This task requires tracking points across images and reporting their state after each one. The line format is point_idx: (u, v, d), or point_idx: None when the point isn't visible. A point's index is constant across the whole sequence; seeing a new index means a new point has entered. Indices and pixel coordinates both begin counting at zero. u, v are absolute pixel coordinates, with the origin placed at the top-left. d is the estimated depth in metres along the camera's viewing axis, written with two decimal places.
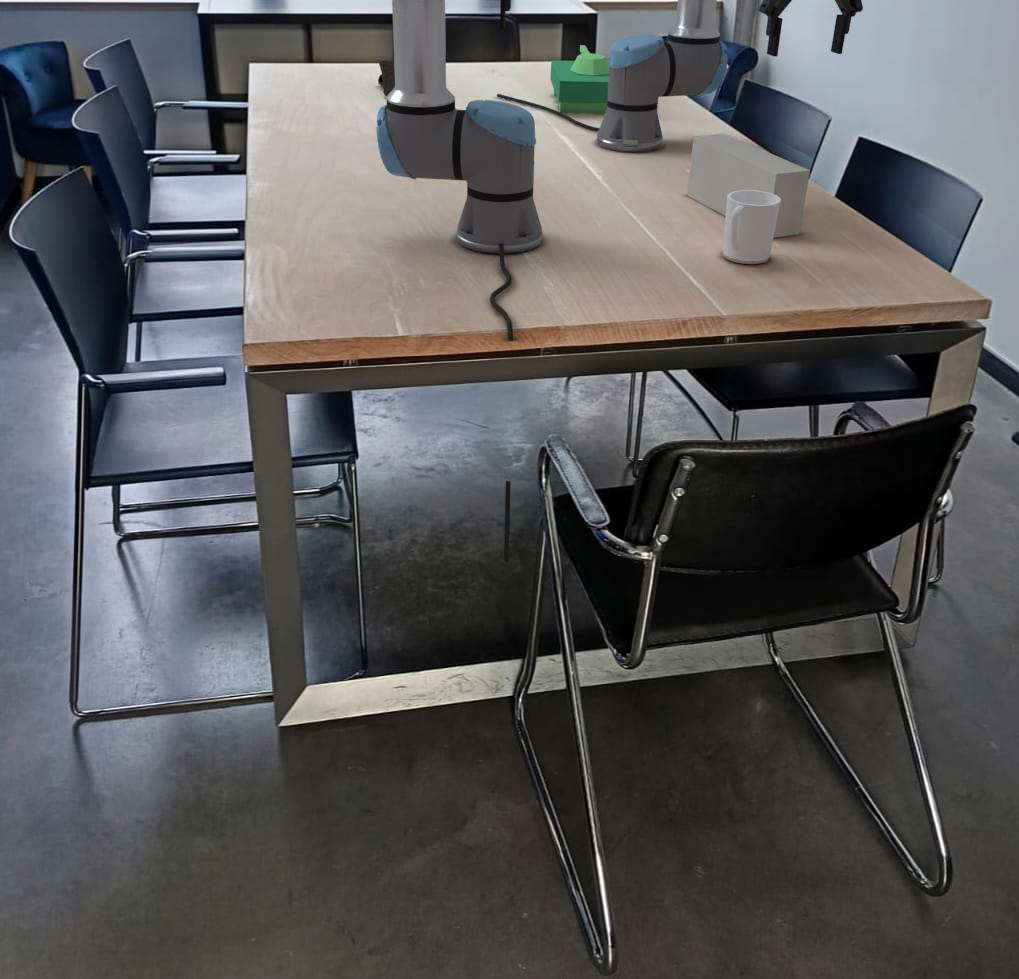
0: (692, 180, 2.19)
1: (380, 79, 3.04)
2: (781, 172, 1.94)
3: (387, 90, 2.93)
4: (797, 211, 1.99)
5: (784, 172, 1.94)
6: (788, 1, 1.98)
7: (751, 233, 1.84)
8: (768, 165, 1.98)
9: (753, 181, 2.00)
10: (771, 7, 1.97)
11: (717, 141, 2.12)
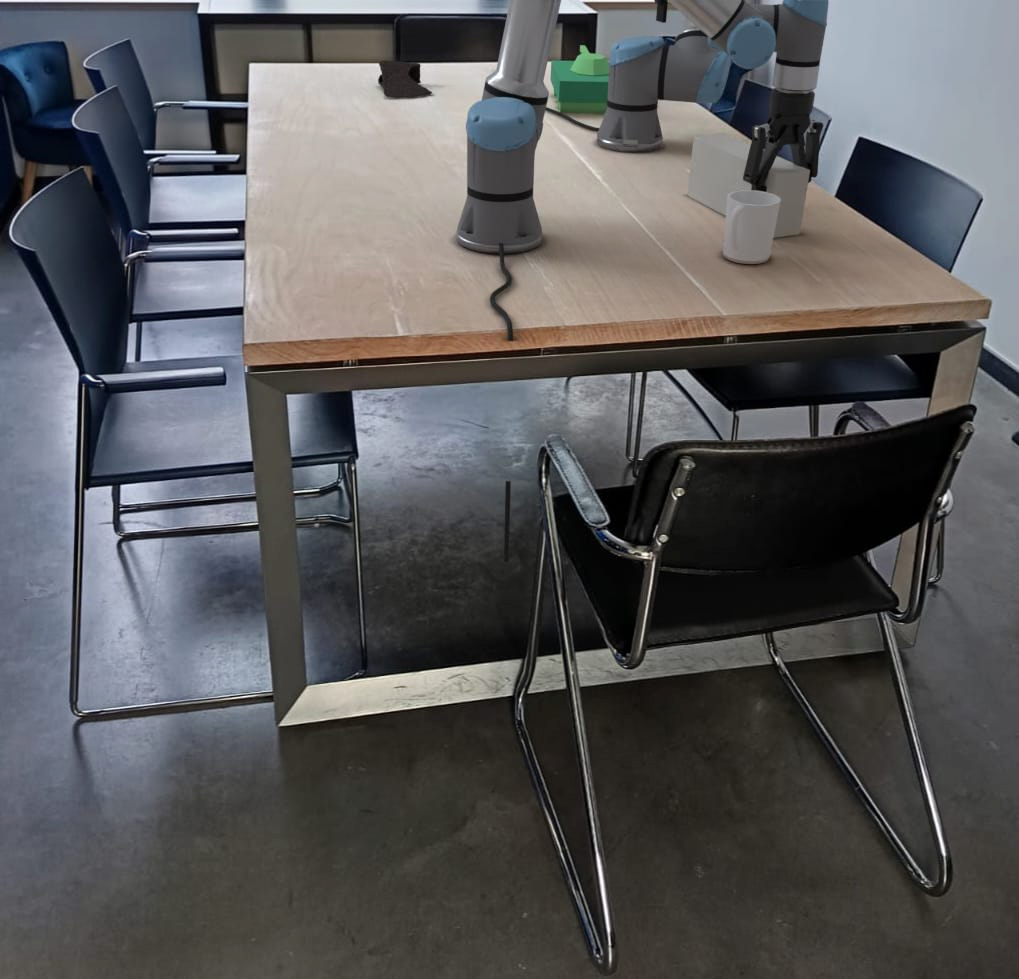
0: (692, 180, 2.19)
1: (380, 79, 3.04)
2: (781, 172, 1.94)
3: (387, 90, 2.93)
4: (797, 211, 1.99)
5: (784, 172, 1.94)
6: None
7: (751, 233, 1.84)
8: None
9: None
10: None
11: (717, 141, 2.12)
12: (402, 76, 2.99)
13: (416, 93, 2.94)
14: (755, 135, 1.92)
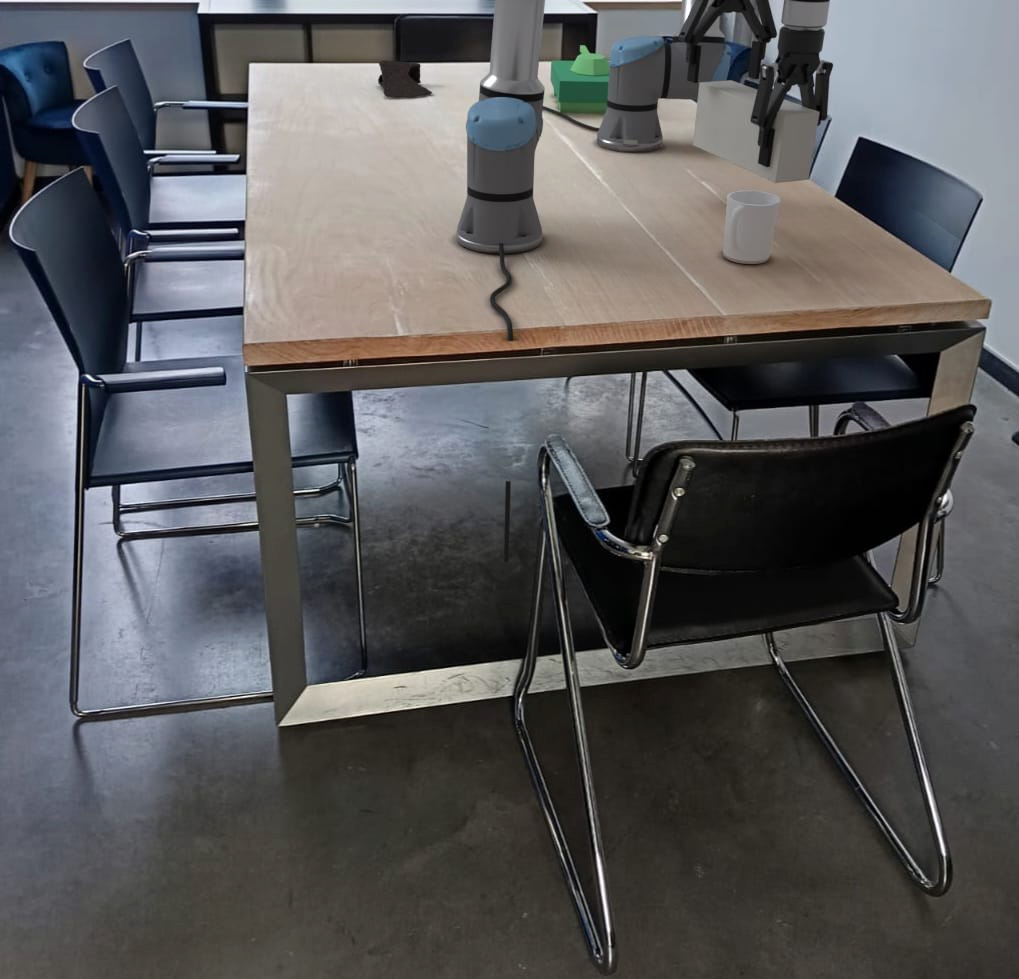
0: (698, 128, 2.14)
1: (380, 79, 3.04)
2: (790, 113, 1.89)
3: (387, 90, 2.93)
4: (806, 155, 1.94)
5: (793, 113, 1.89)
6: None
7: (751, 233, 1.84)
8: None
9: None
10: (765, 30, 2.09)
11: (723, 86, 2.07)
12: (402, 76, 2.99)
13: (416, 93, 2.94)
14: (763, 74, 1.87)
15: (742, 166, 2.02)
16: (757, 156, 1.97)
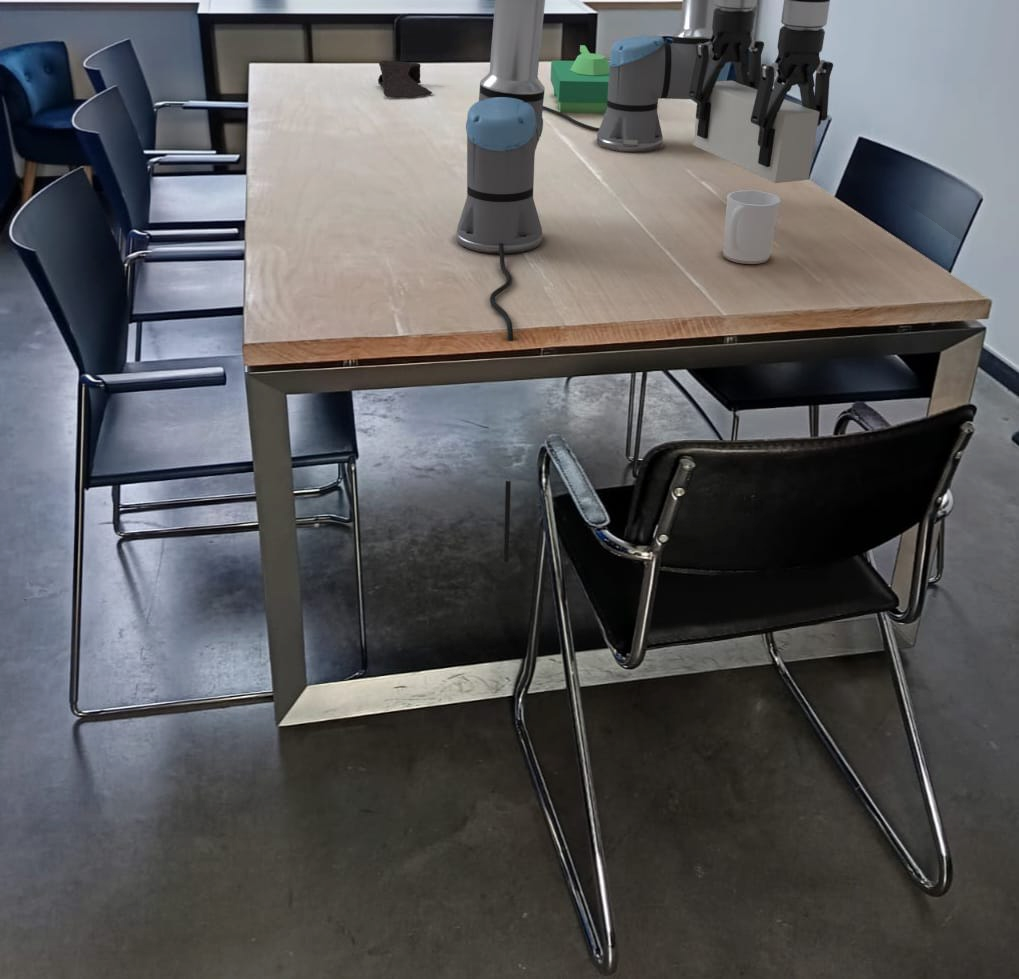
0: None
1: (380, 79, 3.04)
2: (790, 113, 1.89)
3: (387, 90, 2.93)
4: (806, 155, 1.94)
5: (793, 113, 1.89)
6: None
7: (751, 233, 1.84)
8: None
9: None
10: None
11: (724, 87, 2.07)
12: (402, 76, 2.99)
13: (416, 93, 2.94)
14: (763, 74, 1.87)
15: (742, 166, 2.02)
16: (758, 156, 1.97)
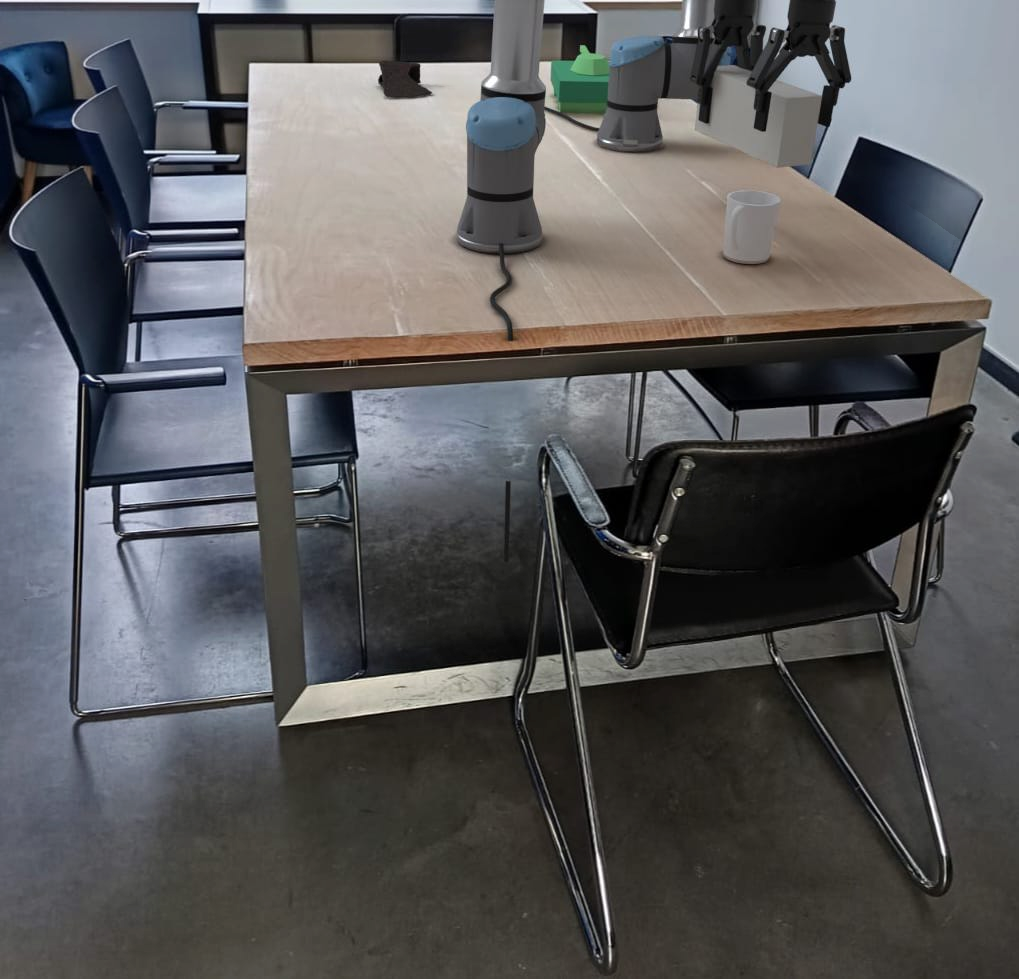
0: None
1: (380, 79, 3.04)
2: (792, 97, 1.88)
3: (387, 90, 2.93)
4: (808, 140, 1.93)
5: (795, 97, 1.88)
6: None
7: (751, 233, 1.84)
8: (779, 91, 1.92)
9: None
10: (751, 70, 2.11)
11: (725, 71, 2.06)
12: (402, 76, 2.99)
13: (416, 93, 2.94)
14: (772, 37, 1.82)
15: (744, 151, 2.01)
16: (760, 140, 1.96)
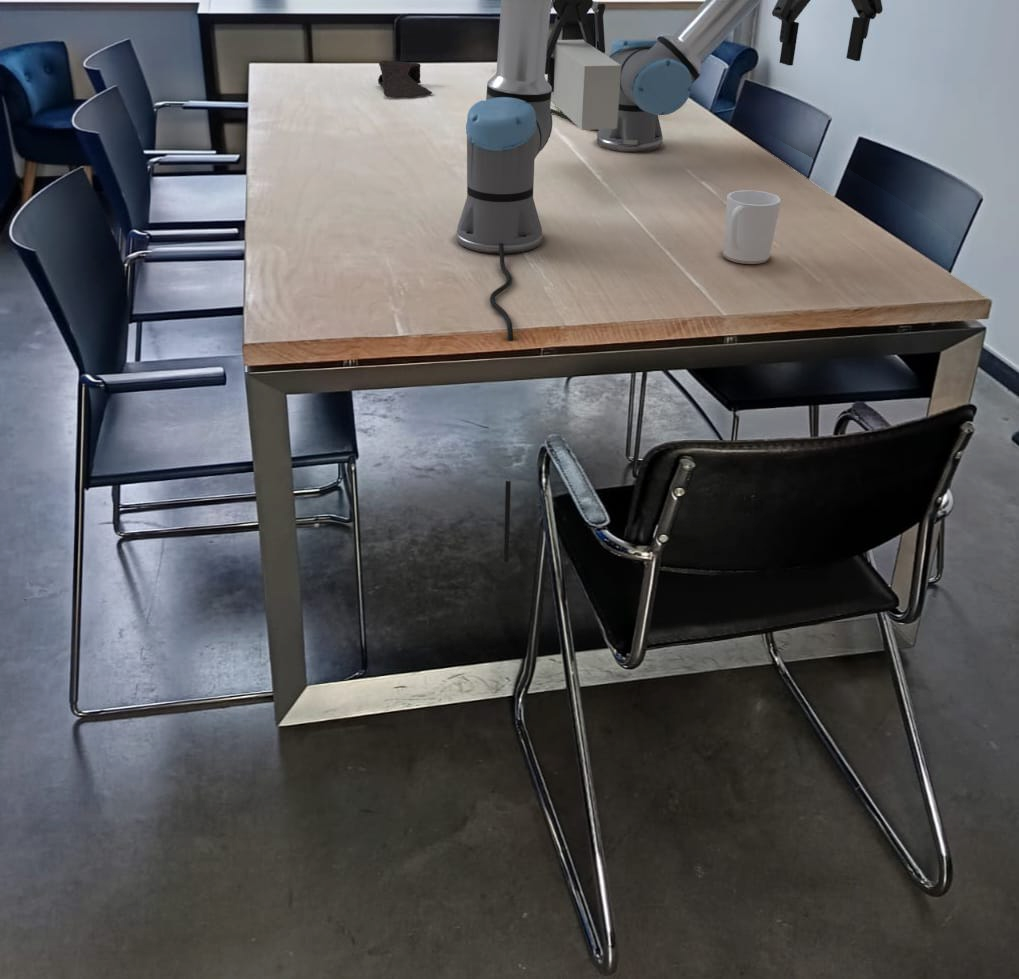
0: None
1: (380, 79, 3.04)
2: (591, 65, 2.07)
3: (387, 90, 2.93)
4: (611, 105, 2.12)
5: (594, 65, 2.07)
6: None
7: (751, 233, 1.84)
8: (587, 60, 2.11)
9: (575, 76, 2.14)
10: None
11: (566, 44, 2.26)
12: (402, 76, 2.99)
13: (416, 93, 2.94)
14: None
15: (568, 116, 2.21)
16: (574, 105, 2.16)
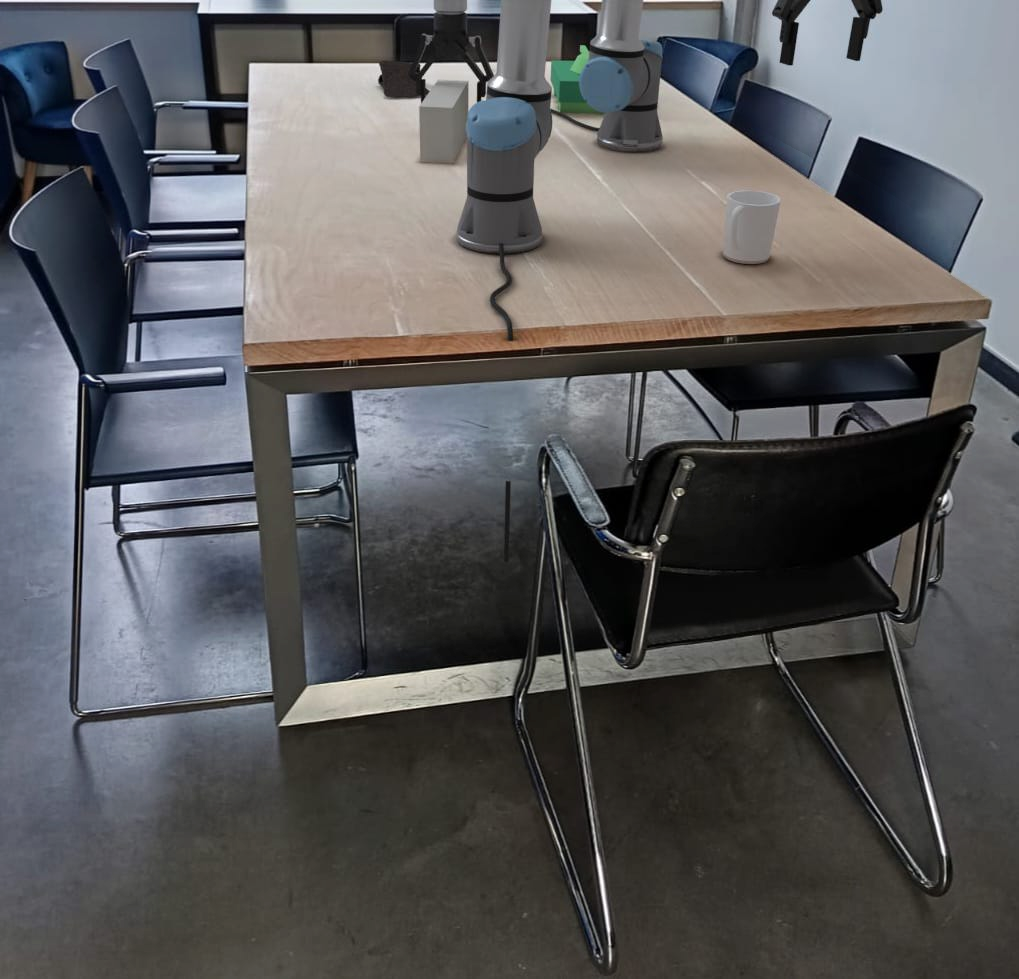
0: None
1: (380, 79, 3.04)
2: (426, 106, 2.33)
3: (387, 90, 2.93)
4: (446, 143, 2.37)
5: (428, 106, 2.33)
6: None
7: (751, 233, 1.84)
8: (431, 101, 2.37)
9: None
10: None
11: (445, 84, 2.53)
12: (402, 76, 2.99)
13: (416, 93, 2.94)
14: None
15: None
16: None
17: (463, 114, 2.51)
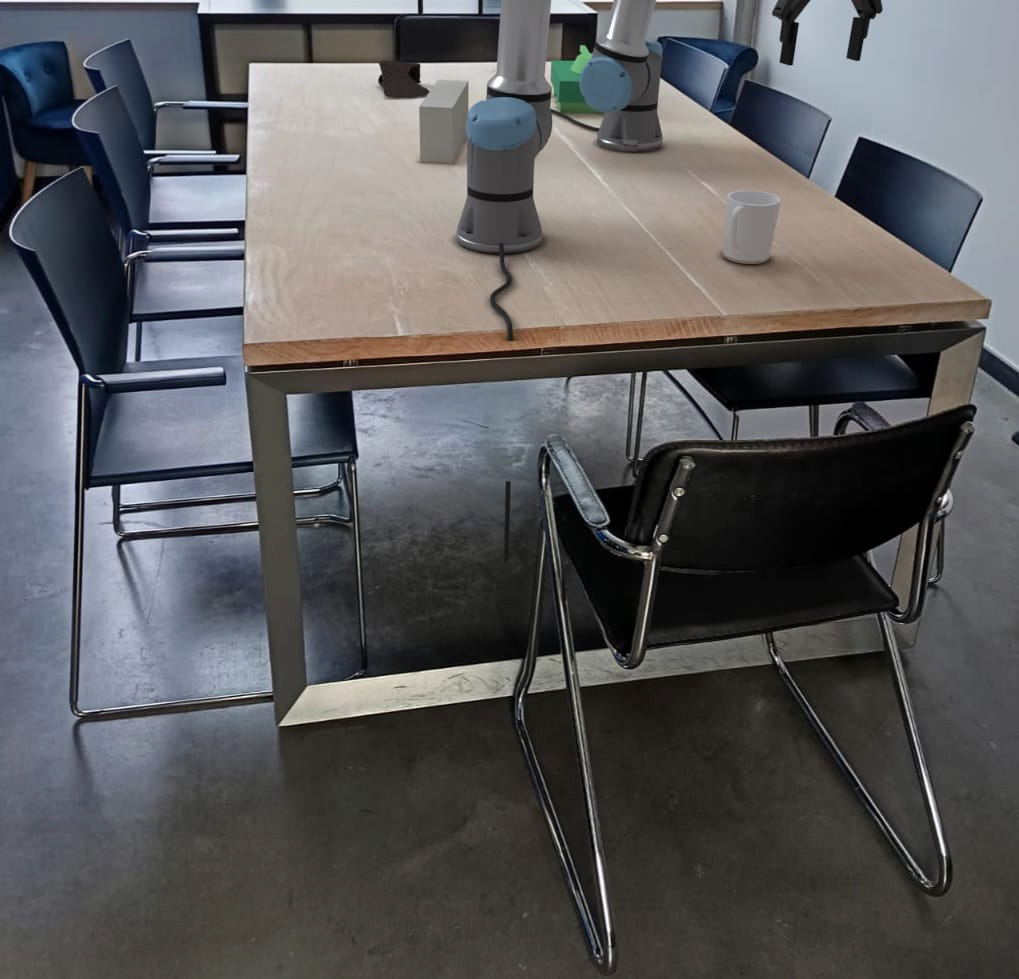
0: None
1: (380, 79, 3.04)
2: (426, 106, 2.33)
3: (387, 90, 2.93)
4: (446, 143, 2.37)
5: (428, 106, 2.33)
6: None
7: (751, 233, 1.84)
8: (431, 101, 2.37)
9: None
10: None
11: (445, 84, 2.53)
12: (402, 76, 2.99)
13: (416, 93, 2.94)
14: None
15: None
16: None
17: (463, 114, 2.51)
